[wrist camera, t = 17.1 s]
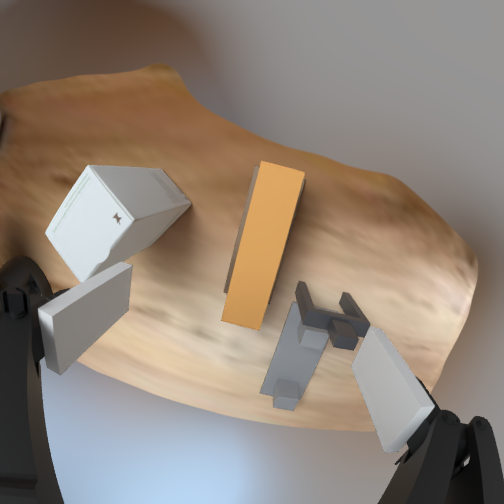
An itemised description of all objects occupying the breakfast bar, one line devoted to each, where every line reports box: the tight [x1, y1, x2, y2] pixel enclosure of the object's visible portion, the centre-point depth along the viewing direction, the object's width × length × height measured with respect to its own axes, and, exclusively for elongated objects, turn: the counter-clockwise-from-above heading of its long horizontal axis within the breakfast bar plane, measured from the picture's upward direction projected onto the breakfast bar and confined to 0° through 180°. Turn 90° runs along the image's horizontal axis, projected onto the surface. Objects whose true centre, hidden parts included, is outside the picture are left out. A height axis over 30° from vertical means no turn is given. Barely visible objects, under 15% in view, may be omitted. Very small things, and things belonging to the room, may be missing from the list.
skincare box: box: [45, 165, 191, 283], centre depth 26 cm, size 8×7×16 cm
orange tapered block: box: [221, 161, 305, 330], centre depth 27 cm, size 4×16×4 cm, turn 166°
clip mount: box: [260, 301, 338, 411], centre depth 35 cm, size 6×16×4 cm, turn 166°
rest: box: [224, 166, 305, 304], centre depth 31 cm, size 6×16×4 cm, turn 166°
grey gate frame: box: [295, 281, 370, 351], centre depth 28 cm, size 7×2×12 cm, turn 76°
